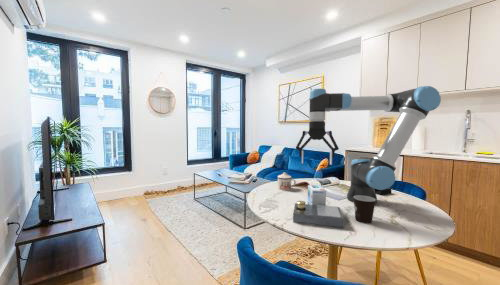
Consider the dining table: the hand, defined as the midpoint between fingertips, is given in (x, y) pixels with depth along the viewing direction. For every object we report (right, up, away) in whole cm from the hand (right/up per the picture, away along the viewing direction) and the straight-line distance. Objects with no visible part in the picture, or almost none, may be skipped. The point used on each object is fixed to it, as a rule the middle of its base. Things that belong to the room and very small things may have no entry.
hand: (316, 163), depth 113 cm
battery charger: (+47, -22, +31) cm, 61 cm away
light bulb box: (0, -23, +1) cm, 23 cm away
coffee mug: (+17, -24, -13) cm, 32 cm away
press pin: (-10, -20, -11) cm, 25 cm away
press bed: (-3, -23, -13) cm, 27 cm away
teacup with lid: (-9, -21, +35) cm, 42 cm away
